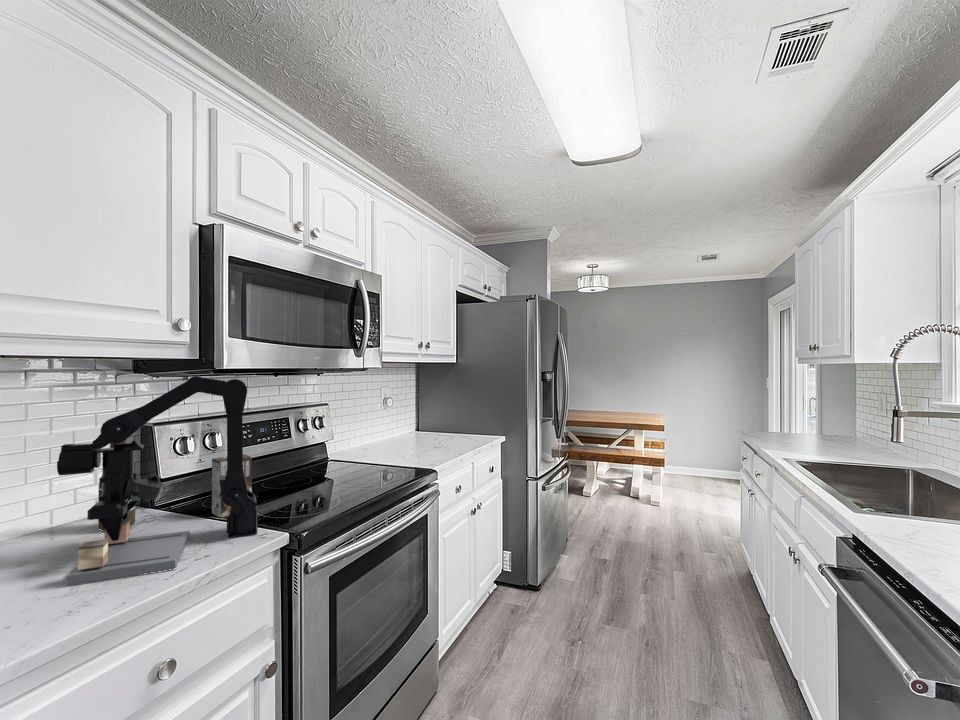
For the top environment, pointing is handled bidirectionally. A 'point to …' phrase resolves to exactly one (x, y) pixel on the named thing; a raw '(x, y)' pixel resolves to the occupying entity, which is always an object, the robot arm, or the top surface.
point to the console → (135, 558)
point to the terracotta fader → (121, 532)
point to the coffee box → (219, 469)
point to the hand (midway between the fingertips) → (117, 537)
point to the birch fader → (92, 554)
